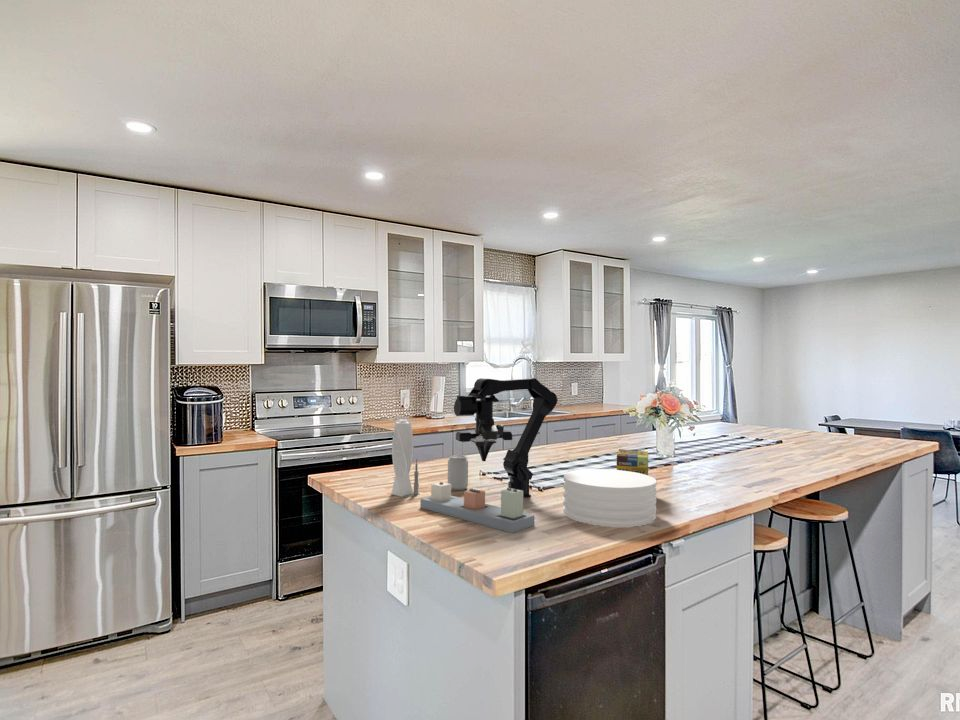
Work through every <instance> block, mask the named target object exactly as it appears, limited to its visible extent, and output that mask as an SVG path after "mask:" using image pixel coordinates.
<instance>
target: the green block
mask: <svg viewBox="0 0 960 720" xmlns="http://www.w3.org/2000/svg"><path fill="white" fill-rule="evenodd" d="M500 507H501V516H505V517H509V518H516V517H519V516H523V513H524V497H523V491H522V490H517V489H513V488H508V487H507V488H506V489H502V490H501V491H500Z"/></svg>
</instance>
